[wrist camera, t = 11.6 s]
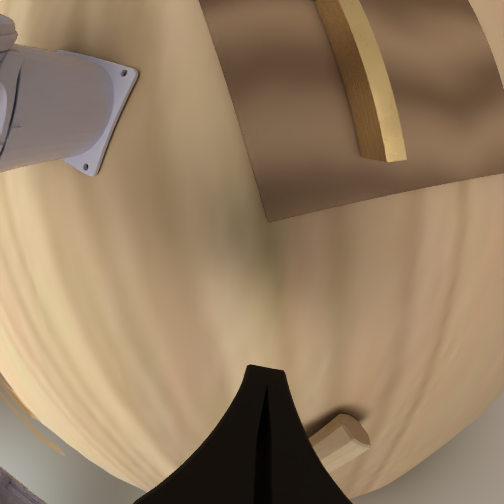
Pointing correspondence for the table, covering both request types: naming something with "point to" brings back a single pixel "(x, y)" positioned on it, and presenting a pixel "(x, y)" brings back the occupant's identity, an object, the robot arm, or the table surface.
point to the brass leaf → (364, 80)
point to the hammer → (340, 441)
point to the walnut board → (337, 105)
